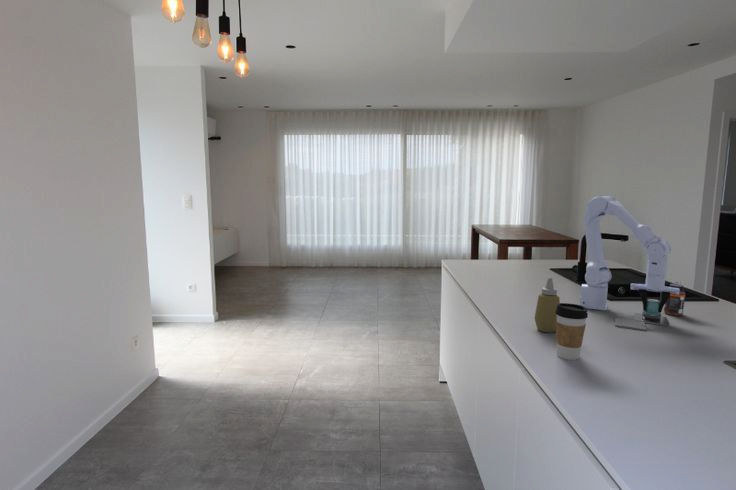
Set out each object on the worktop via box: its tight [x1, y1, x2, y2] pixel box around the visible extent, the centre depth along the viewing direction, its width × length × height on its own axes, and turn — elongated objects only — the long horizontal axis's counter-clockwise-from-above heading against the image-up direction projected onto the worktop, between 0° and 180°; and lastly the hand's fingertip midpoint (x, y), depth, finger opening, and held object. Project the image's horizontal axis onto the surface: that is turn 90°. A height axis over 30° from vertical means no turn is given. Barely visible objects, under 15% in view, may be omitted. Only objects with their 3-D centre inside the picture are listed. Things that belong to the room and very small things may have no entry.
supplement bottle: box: [663, 283, 686, 317], centre depth 162 cm, size 6×6×11 cm
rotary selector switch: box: [633, 310, 670, 327], centre depth 155 cm, size 10×10×3 cm
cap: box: [644, 298, 661, 315], centre depth 155 cm, size 5×5×5 cm
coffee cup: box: [555, 302, 589, 361], centre depth 123 cm, size 8×8×15 cm
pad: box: [614, 317, 647, 332], centre depth 150 cm, size 9×9×1 cm
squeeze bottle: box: [534, 277, 561, 333], centre depth 143 cm, size 8×8×18 cm
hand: (651, 311), depth 155 cm, fingers closed on cap, 4 cm apart
